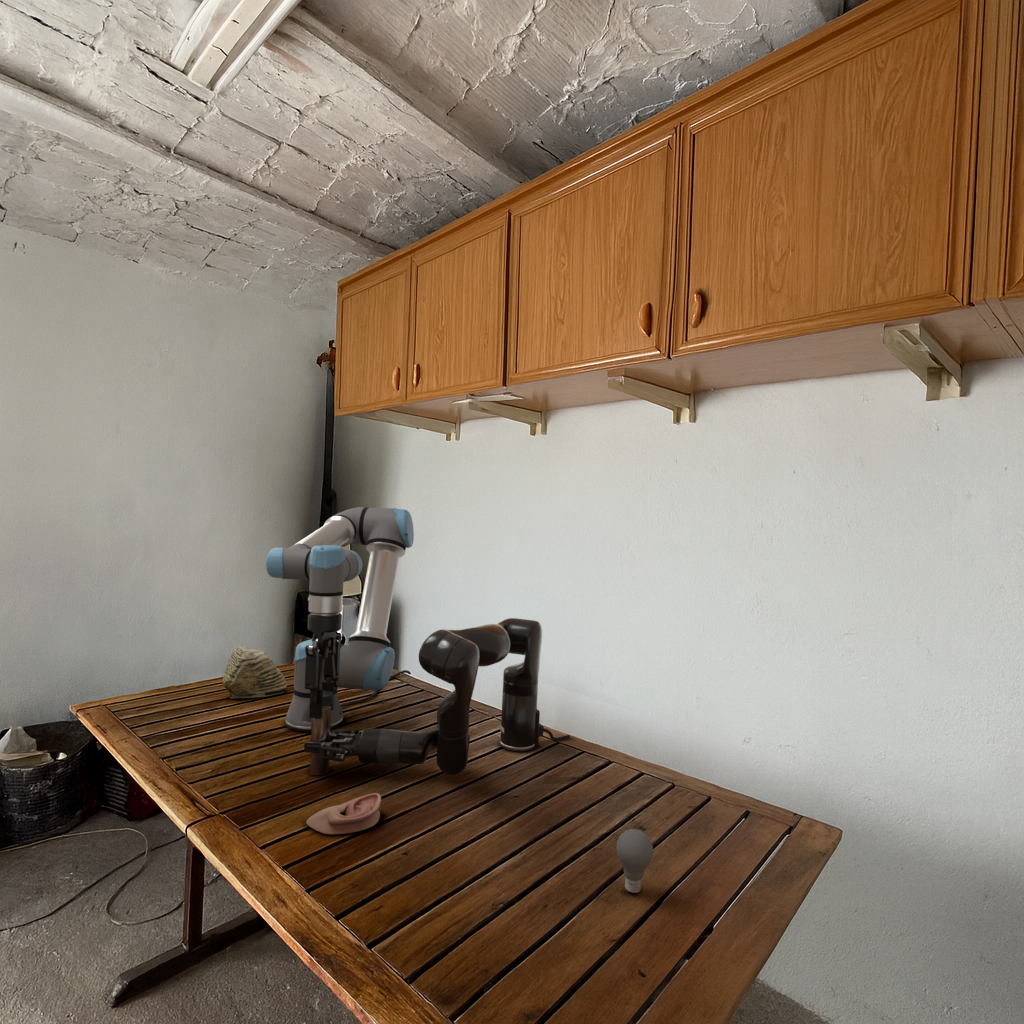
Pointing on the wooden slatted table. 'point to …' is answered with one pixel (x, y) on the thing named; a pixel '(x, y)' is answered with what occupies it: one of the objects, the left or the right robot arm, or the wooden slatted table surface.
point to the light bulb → (634, 857)
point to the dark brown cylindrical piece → (320, 734)
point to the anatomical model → (347, 816)
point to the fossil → (252, 674)
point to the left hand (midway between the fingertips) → (321, 713)
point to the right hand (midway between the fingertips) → (308, 742)
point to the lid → (327, 698)
